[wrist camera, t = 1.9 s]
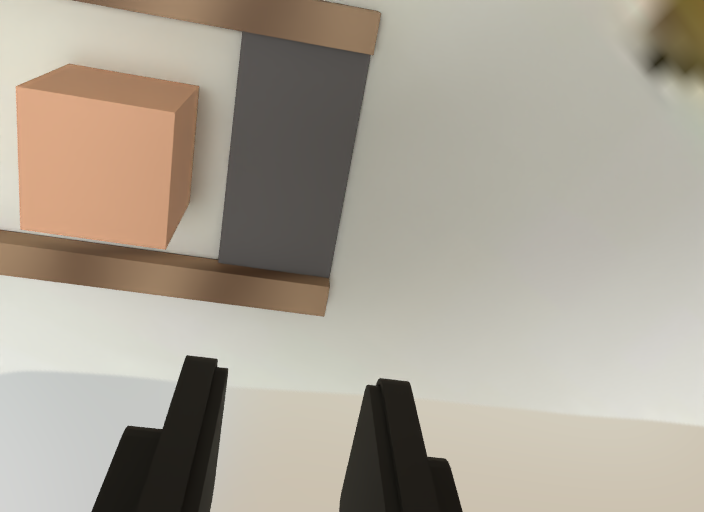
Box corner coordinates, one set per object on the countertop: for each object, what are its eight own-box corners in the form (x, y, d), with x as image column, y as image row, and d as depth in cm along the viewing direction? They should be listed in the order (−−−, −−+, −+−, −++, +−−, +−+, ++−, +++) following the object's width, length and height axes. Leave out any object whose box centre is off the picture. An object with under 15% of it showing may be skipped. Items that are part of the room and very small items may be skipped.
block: (199, 85, 26) (175, 112, 21) (189, 202, 28) (165, 249, 23) (69, 63, 25) (15, 86, 20) (69, 184, 27) (20, 229, 22)
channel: (377, 11, 25) (381, 13, 24) (323, 303, 30) (324, 316, 29) (-186, -97, 22) (-212, -100, 21) (-138, 242, 27) (-157, 254, 26)
